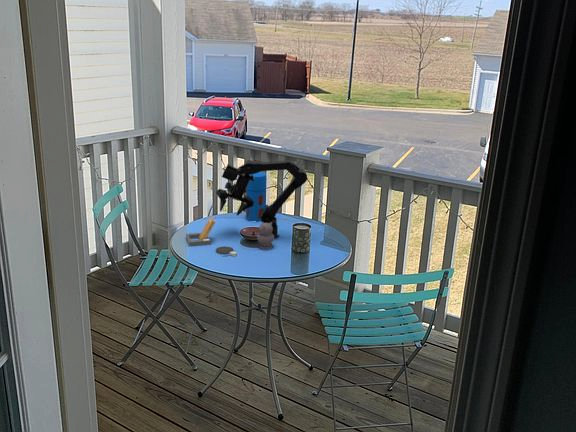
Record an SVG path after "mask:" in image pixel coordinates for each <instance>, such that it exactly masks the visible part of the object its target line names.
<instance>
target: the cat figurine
mask: <svg viewBox="0 0 576 432" xmlns="http://www.w3.org/2000/svg"><path fill="white" fill-rule="evenodd" d="M272 231H273V227H272V222H271V223H263V222H262V223H261V224H260V225H259V227H258V232H259V234H257V236H256V238H257V242H258V248H259V249H261V250H271V249H272V248H273V241H274V240H275V238H274V235H273V234H272Z"/></svg>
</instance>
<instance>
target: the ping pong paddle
mask: <svg viewBox="0 0 576 432" xmlns="http://www.w3.org/2000/svg"><path fill="white" fill-rule="evenodd" d="M215 253H216V254H217V255H218V254H219V255H222V256H226V257H232V258H235V257H237V256H238V252H236V251H234V248H233V247H231V246H226V245H225V246H219V247H217V248H216V249H215Z"/></svg>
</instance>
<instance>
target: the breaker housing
mask: <svg viewBox="0 0 576 432" xmlns="http://www.w3.org/2000/svg"><path fill="white" fill-rule="evenodd" d="M200 234H201V232H194V233H186V234H185V239H186V241H187V244H188V247H198V246H210V245H212V240H211V239H210V238H209V237H208V236H209V235H208V236H207V238H206V239H203V240H200V238H199V235H200ZM195 239H196V240H195Z"/></svg>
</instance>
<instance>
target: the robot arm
mask: <svg viewBox="0 0 576 432" xmlns="http://www.w3.org/2000/svg"><path fill="white" fill-rule="evenodd" d="M285 170H286V171H287V172H288V173H290V175H291V176H292V177H291V180H290V182H289V183H288V184H287V186H286V187H285V188H284V189H283V190H282V192H281V193H280V194H279V195H278V197H277V198H276V199H275V200H274V201H273V202H272V204H270V205H268V204H266V206H265V208H264V209H262V213H261V222H262V224H263V223H271V222H272V227H273V231H272V234H273V235H274V239H276V238H278V237H280V234H278V231H279V230H278V229H279V228H278V227H279V226H278V220H277V217H276V215H277V213H278V211H279V210H280V209H281V207H282V206H283V205H284V204H285V203H286V202H287V201H288V199H289V198H290V197H291V196H292V194H293V193H294V192H295V191H296V190H298V189H299V188H301V186H303V185H305V183H306V182H307V181H308V174H307V171H306V170H305V169H303V168H300V167H299V166H297V165H296V164H295V163H293V162H292V161H291V160H289V159H286V160H278V161H275V160H274V161H257V160H251V159H248V160H246V161H245V162H244V163H243V164H242V165H240V166H238V167H235V166H232V165H230V164H229V163H227V165H226V166H225V168H224V169H223V173H222V176H221V178H223V179H226V180H228V181H230V182H227V181H226V183H225V186H224V189H222V188H218V189H217V190H216V192H215V194H216V195H217V197H218V198H219V200H220V201H219V202H220V203H219V211H220V212H222V211H223V209H224V207H225V205H226V203H227V199H232V200H235V201H237V202H238V201H239V202H240V205H239V208H238V209H237V212H236V215H235V216H239V215H240V214H241V213H243V212H244V211H246V209H247V208H250V207H253V205H254V201H253V200H252V199H251V198H250V197H247V196H246V195H245V196H244V194H245V193H246V188H247V186H248V184H249V181H250V180H251V181H254V177H253V175H251V174H255V173H258V172H267V171H268V172H269V171H285ZM234 181H235V183H234V184H232V183H231V182H234ZM226 189H227V190H226ZM228 192H229V193H228Z"/></svg>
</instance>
